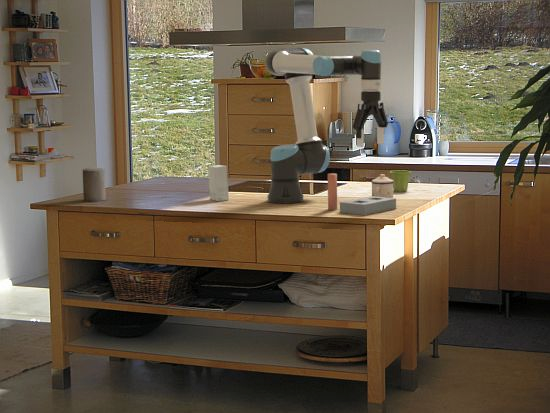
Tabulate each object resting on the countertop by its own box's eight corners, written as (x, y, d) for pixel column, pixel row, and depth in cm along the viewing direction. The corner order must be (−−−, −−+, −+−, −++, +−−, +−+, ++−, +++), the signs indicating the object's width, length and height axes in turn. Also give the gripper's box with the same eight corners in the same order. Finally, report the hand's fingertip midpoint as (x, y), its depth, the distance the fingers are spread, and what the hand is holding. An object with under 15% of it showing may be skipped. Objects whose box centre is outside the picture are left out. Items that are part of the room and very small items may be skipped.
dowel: (326, 209, 374) (325, 174, 371) (332, 208, 376) (331, 173, 374) (333, 210, 371) (332, 174, 369) (339, 209, 374) (338, 173, 372)
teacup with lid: (375, 200, 395) (375, 172, 394) (396, 201, 392) (396, 173, 390) (366, 204, 384) (366, 176, 383) (387, 205, 381) (387, 176, 379)
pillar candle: (79, 201, 412) (77, 166, 410) (91, 198, 421) (90, 164, 419) (98, 202, 409) (97, 167, 406) (110, 199, 418) (109, 165, 415)
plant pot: (410, 189, 428) (410, 170, 427) (411, 192, 419) (411, 172, 418) (389, 189, 429) (389, 170, 428) (390, 192, 420) (390, 172, 418)
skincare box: (229, 200, 404) (228, 165, 402) (215, 201, 402) (214, 166, 400) (221, 198, 412) (220, 164, 410) (208, 199, 409) (207, 165, 407)
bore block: (339, 212, 366) (339, 202, 365) (371, 206, 380) (371, 196, 380) (364, 215, 358) (364, 204, 357) (396, 208, 372) (396, 198, 371)
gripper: (359, 92, 356) (359, 148, 359) (397, 89, 374) (396, 143, 378) (343, 91, 361) (343, 147, 364) (381, 89, 379) (380, 142, 383)
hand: (370, 145), depth 371 cm, fingers open, 13 cm apart
